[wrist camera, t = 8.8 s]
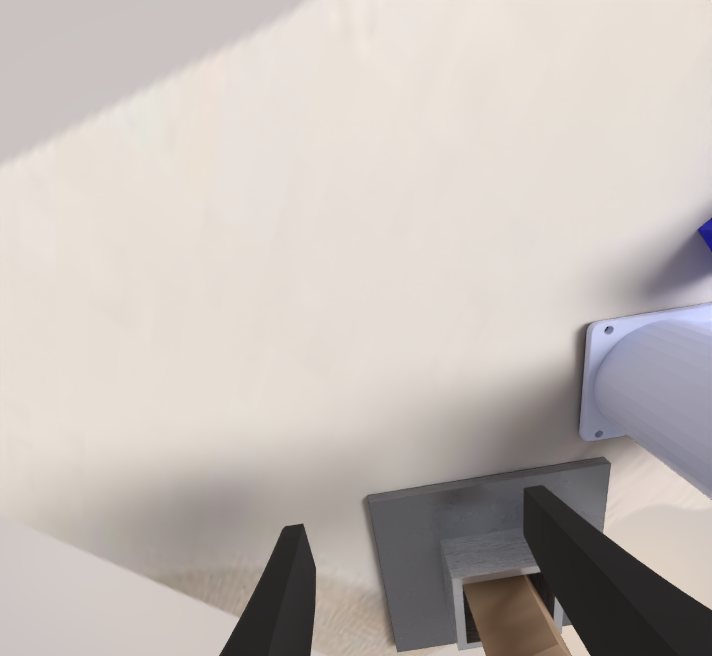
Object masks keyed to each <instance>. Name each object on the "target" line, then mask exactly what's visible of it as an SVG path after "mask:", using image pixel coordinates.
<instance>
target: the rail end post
mask: <svg viewBox="0 0 712 656" xmlns="http://www.w3.org/2000/svg"><path fill="white" fill-rule="evenodd" d="M462 585H463V588H464V591H465V594H466V597H467V600H468V603H469V606H470V609H471V612H472V615H473V618H474V621H475V624H476V627H477V630H478V633H479V636H480V639H481V642H482V645H483V648H484V651H485V654H486V656H572V655H571V653H570V651H569V649H568V648H567V646H566V644H565V642H564V640H563V638H562V636H561V634H560V632H559V630H558V629H557V627H556V625H555V623H554V621H553V619H552V617H551V615H550V613H549V611H548V610H547V608H546V606H545V604H544V602H543V600H542V598H541V596H540V594H539V592H538V591H537V589H536V587H535V585H534V583H533V581H532V579H531V577H530V575H529V574H525V575H518V576H512V577H506V578H500V579H493V580H487V581H481V582H475V583H468V584H462Z"/></svg>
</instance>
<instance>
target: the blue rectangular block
mask: <svg viewBox="0 0 712 656" xmlns="http://www.w3.org/2000/svg"><path fill="white" fill-rule="evenodd" d="M698 230H699V232H700V234H701V235H702V237H703V239H704V240H705V242H706V243H707V245H708V247H709V248H710V250H711V251H712V218H711V219H710V220H709V221H707V222H706V223H705V224H704V225H703V226H701V227H700V228H699V229H698Z"/></svg>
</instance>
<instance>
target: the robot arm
mask: <svg viewBox="0 0 712 656" xmlns="http://www.w3.org/2000/svg"><path fill="white" fill-rule="evenodd" d="M606 327H608V330H607V331H606V332H604V331H605V328H606ZM597 431H598V432H597ZM596 432H597V433H596ZM579 435H580V437H581V438H582V439H583V440H584V441H587V442H590V441H596V440H602V439H608V438H614V437H621V436H629V437H630V438H631V439H633V440H634V441H635V442H637V443H638V444H639V445H640V446H642V447H643V448H644V449H646V450H647V451H648V452H650V453H651V454H652V455H654V456H655V457H656V458H657V459H659V460H660V461H661V462H663V463H664V464H665V465H667V466H668V467H669V468H671V469H672V470H673V471H674V472H676V473H677V474H678V475H680V476H681V477H682V478H684V479H685V480H686V481H688V482H689V483H690V484H691V485H693V486H694V487H695V488H697V489H698V490H699V491H701V492H702V493H703V494H705V495H706V496H707V497H708V498H710V499H711V500H712V302H711V303H705V304H699V305H693V306H687V307H681V308H675V309H669V310H663V311H657V312H651V313H645V314H639V315H633V316H627V317H621V318H615V319H609V320H603V321H597V322H594V323H592V324H591V325H590V326H589V327H588V329H587V336H586V349H585V363H584V376H583V390H582V403H581V416H580V430H579ZM523 535H524V537H525V540H526V542H527V544H528V546H529V548H530V550H531V553H532V555H533V557H534V559H535V561H536V563H537V565H538V567H539V569H540V571H541V573H542V575H543V576H544V578H545V580H546V582H547V583H548V585H549V587H550V588H551V590H552V592H553V593H554V595H555V597H556V598H557V600H558V602H559V604H560V605H561V607H562V609H563V610H564V612H565V614H566V615H567V617H568V619H569V620H570V622H571V624H572V625H573V627H574V629H575V630H576V632H577V633H578V635H579V637H580V639H581V640H582V642H583V644H584V645H585V647H586V648H587V650H588V652H589V654H590V655H591V656H712V610H711V609H709V608H707V607H706V606H704V605H703V604H701V603H700V602H698V601H696V600H695V599H694V598H692V597H690V596H689V595H687V594H686V593H684V592H683V591H681V590H680V589H678V588H677V587H675V586H674V585H672V584H671V583H669V582H668V581H667V580H665V579H664V578H662V577H661V576H659V575H658V574H657V573H655V572H654V571H653V570H651V569H650V568H648V567H647V566H646V565H644V564H643V563H641V562H640V561H638V560H637V559H636V558H635V557H633V556H632V555H631V554H629V553H628V552H626V551H625V550H624V549H622V548H621V547H620V546H619V545H617V544H616V543H615V542H613V541H612V540H611V539H609V538H608V537H607V536H606V535H604V534H603V533H602V532H600V531H599V530H598V529H597V528H595V527H594V526H593V525H591V524H590V523H589V522H588V521H586V520H585V519H584V518H583V517H581V516H580V515H579V514H578V513H577V512H575V511H574V510H573V509H572V508H570V507H569V506H568V505H567V504H566V503H564V502H563V501H562V500H561V499H559V498H558V497H557V496H556V495H555V494H553V493H552V492H551V491H550V490H548V489H547V488H546V487H545V486H543V485H538V486H532V487H526V488H524V497H523ZM315 596H316V567H315V563H314V560H313V556H312V553H311V549H310V546H309V542H308V539H307V535H306V531H305V528H304V524H297V525H291V526H285V527H284V528H283V529H282V531H281V534H280V536H279V539H278V541H277V543H276V546H275V548H274V550H273V552H272V555H271V557H270V559H269V561H268V563H267V566H266V568H265V570H264V572H263V574H262V576H261V578H260V580H259V582H258V584H257V586H256V588H255V590H254V592H253V594H252V596H251V598H250V600H249V602H248V604H247V606H246V608H245V610H244V612H243V614H242V616H241V618H240V619H239V621H238V623H237V625H236V627H235V629H234V630H233V632H232V634H231V636H230V638H229V640H228V641H227V643H226V645H225V647H224V648H223V650H222V652H221V654H220V655H219V656H310V654H311V644H312V635H313V625H314V615H315Z"/></svg>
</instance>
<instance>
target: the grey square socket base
mask: <svg viewBox="0 0 712 656" xmlns="http://www.w3.org/2000/svg"><path fill="white" fill-rule="evenodd" d="M610 468H611V463H610V462H609V461H608V460H607V459H606V458H604V457H602V458H596V459H589V460H583V461H577V462H571V463H565V464H559V465H552V466H546V467H540V468H534V469H528V470H522V471H515V472H509V473H503V474H497V475H491V476H485V477H479V478H472V479H466V480H460V481H454V482H448V483H442V484H435V485H429V486H423V487H417V488H411V489H405V490H398V491H392V492H386V493H380V494H374V495H368V501H369V507H370V512H371V517H372V523H373V528H374V533H375V538H376V543H377V549H378V554H379V559H380V564H381V570H382V575H383V580H384V585H385V591H386V596H387V601H388V606H389V611H390V617H391V622H392V627H393V632H394V638H395V643H396V648H397V652H403V651H410V650H416V649H422V648H429V647H435V646H441V645H448V644H454V643H457V646H458V650H465V649H471V648H477V647H483V645H482V642H481V639H480V636H479V633H478V630H477V627H476V624H475V621H474V618H473V615H472V612H471V609H470V606H469V603H468V600H467V597H466V594H465V591H464V588H463V585H462V584H468V583H475V582H481V581H487V580H493V579H500V578H506V577H512V576H518V575H525V574H529V575H530V577H531V579H532V581H533V583H534V585H535V587H536V589H537V591H538V592H539V594H540V596H541V598H542V600H543V602H544V604H545V606H546V608H547V610H548V611H549V613H550V615H551V617H552V619H553V621H554V623H555V625H556V627H557V629H558V630H559V632H560V634H562V626H567V625H572V624H571V622H570V620H569V619H568V617H567V615H566V614H565V612H564V610H563V609H562V607H561V605H560V604H559V602H558V600H557V598H556V597H555V595H554V593H553V592H552V590H551V588H550V587H549V585H548V583H547V582H546V580H545V578H544V576H543V575H542V573H541V571H540V569H539V567H538V565H537V563H536V561H535V559H534V557H533V555H532V553H531V550H530V548H529V546H528V544H527V542H526V540H525V537H524V535H523V497H524V488H526V487H532V486H538V485H543V486H545V487H546V488H547V489H548V490H550V491H551V492H552V493H553V494H555V495H556V496H557V497H558V498H559V499H561V500H562V501H563V502H564V503H566V504H567V505H568V506H569V507H570V508H572V509H573V510H574V511H575V512H577V513H578V514H579V515H580V516H581V517H583V518H584V519H585V520H586V521H588V522H589V523H590V524H591V525H593V526H594V527H595V528H597V529H598V530H599V531H600V532H602V533H603V528H604V519H605V511H606V502H607V493H608V485H609V476H610Z"/></svg>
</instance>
